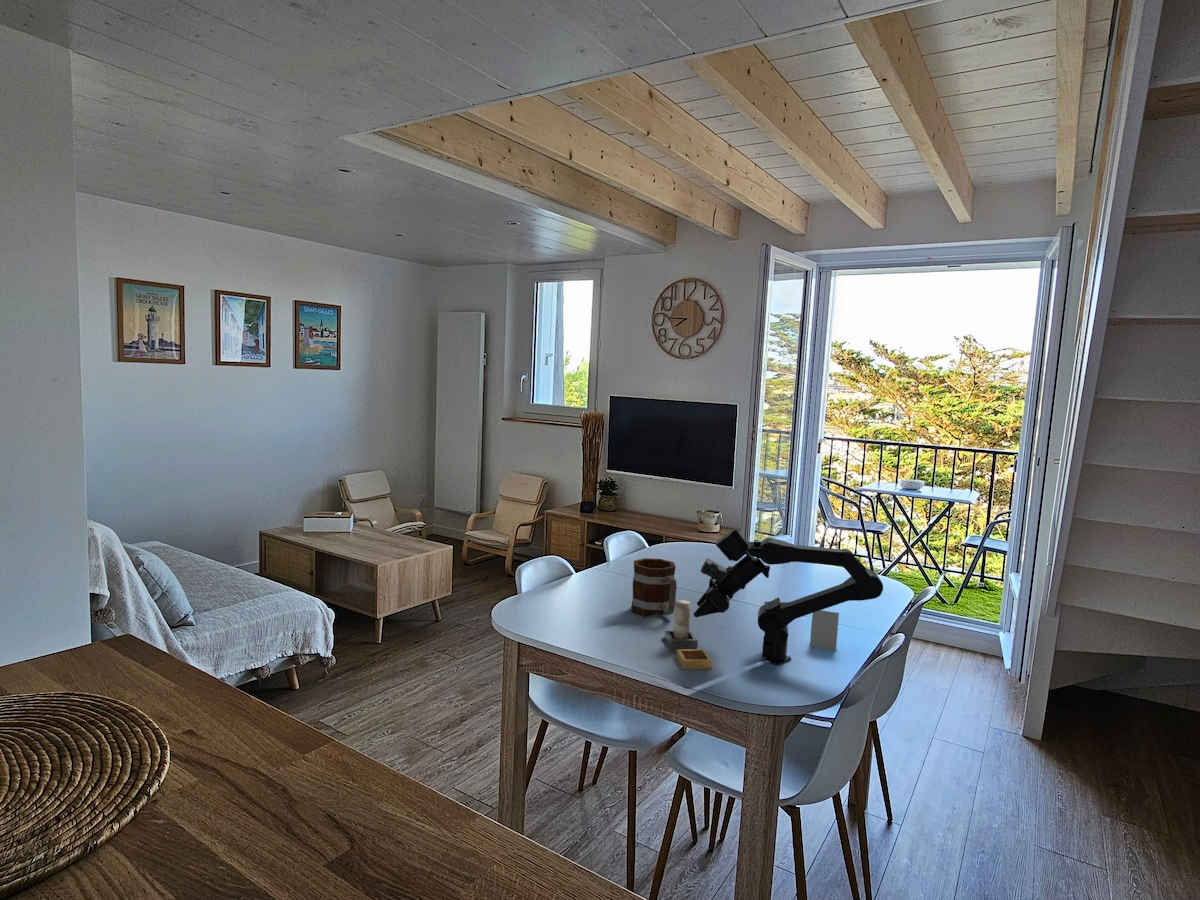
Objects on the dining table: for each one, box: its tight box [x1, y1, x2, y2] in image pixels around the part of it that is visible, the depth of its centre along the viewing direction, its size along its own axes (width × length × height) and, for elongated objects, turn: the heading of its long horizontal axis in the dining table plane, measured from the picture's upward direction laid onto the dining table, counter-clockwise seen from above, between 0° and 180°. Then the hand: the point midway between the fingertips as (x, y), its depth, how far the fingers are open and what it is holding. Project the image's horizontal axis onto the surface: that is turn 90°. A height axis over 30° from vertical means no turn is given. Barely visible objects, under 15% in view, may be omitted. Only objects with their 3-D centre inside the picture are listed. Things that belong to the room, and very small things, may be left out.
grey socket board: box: [660, 629, 717, 671], centre depth 179 cm, size 21×9×3 cm, turn 8°
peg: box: [673, 599, 691, 639], centre depth 185 cm, size 4×4×11 cm
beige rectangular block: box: [809, 609, 840, 652], centre depth 191 cm, size 4×7×10 cm, turn 69°
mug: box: [630, 557, 677, 618], centre depth 211 cm, size 20×14×15 cm
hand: (696, 610), depth 184 cm, fingers open, 9 cm apart
